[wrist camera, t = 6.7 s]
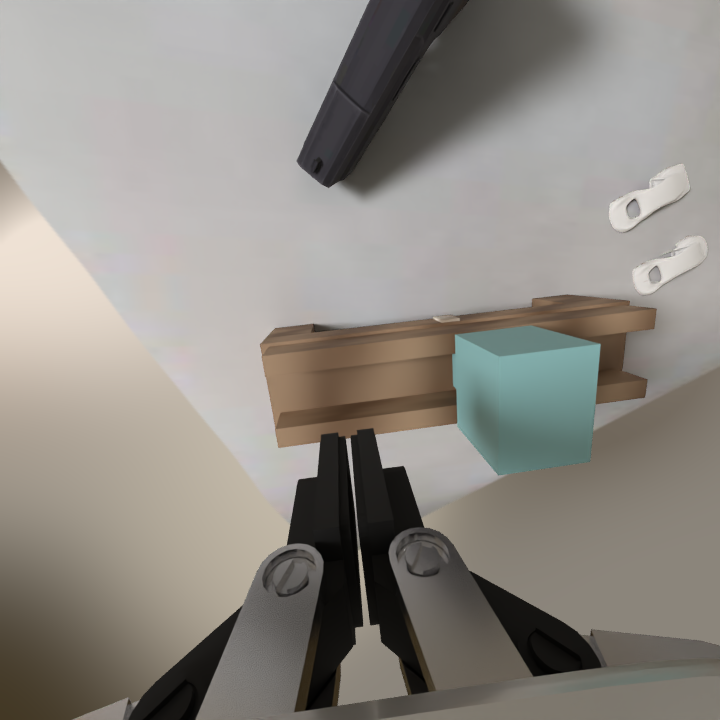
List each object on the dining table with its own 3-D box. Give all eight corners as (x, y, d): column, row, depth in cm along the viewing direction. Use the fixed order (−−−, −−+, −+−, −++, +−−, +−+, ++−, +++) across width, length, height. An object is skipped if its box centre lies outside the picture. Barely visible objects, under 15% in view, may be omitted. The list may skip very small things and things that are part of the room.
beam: (567, 292, 28) (665, 301, 20) (562, 365, 29) (651, 401, 21) (274, 326, 26) (251, 350, 18) (287, 401, 28) (271, 454, 20)
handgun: (538, -107, 19) (573, -218, 11) (374, 154, 30) (328, 199, 22) (495, -164, 18) (495, -331, 10) (343, 126, 29) (283, 162, 21)
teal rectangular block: (508, 319, 21) (600, 343, 14) (506, 401, 23) (590, 461, 16) (440, 327, 21) (499, 356, 14) (443, 409, 23) (498, 475, 15)
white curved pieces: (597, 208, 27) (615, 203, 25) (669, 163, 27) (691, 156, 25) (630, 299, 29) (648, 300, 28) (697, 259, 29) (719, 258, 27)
